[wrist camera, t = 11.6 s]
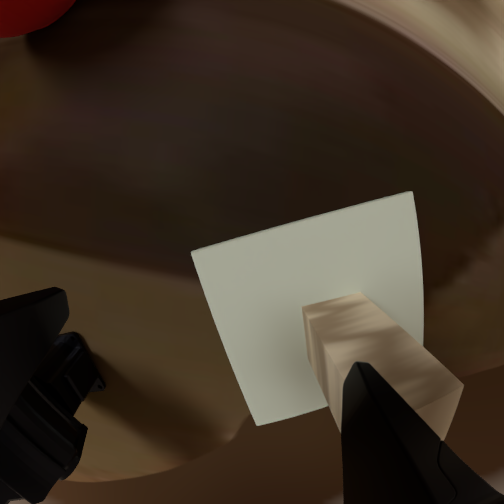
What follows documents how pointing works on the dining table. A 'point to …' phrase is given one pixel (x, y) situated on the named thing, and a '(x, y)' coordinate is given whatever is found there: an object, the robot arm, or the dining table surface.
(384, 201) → the sage mat
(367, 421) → the robot arm
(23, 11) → the ceramic cup
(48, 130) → the dining table surface
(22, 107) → the dining table surface
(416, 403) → the birch block
